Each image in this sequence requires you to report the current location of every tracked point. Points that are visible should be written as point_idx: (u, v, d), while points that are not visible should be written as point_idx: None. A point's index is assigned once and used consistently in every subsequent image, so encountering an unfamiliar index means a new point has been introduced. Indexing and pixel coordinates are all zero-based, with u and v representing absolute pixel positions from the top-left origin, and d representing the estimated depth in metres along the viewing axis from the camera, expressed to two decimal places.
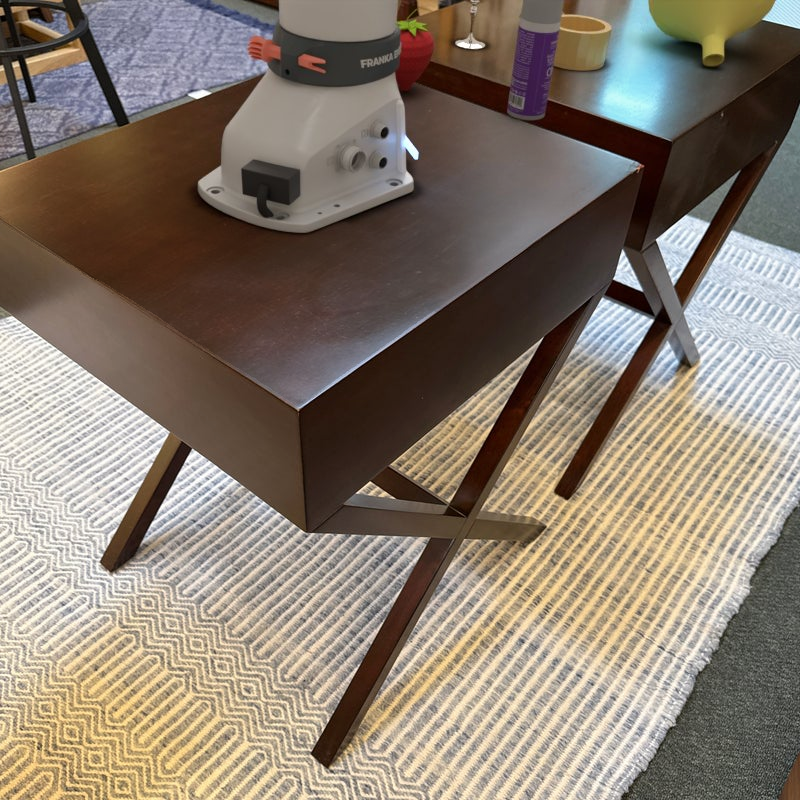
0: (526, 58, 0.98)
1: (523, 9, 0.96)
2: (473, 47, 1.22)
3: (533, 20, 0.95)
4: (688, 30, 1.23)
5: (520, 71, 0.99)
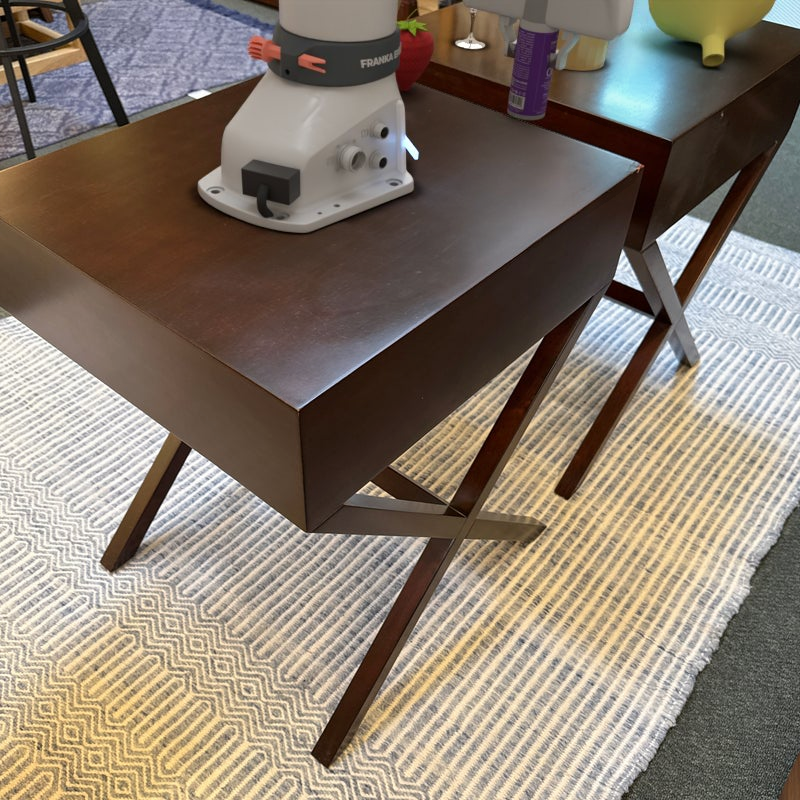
0: (526, 58, 0.98)
1: None
2: (473, 47, 1.22)
3: (533, 20, 0.95)
4: (688, 30, 1.23)
5: (520, 71, 0.99)
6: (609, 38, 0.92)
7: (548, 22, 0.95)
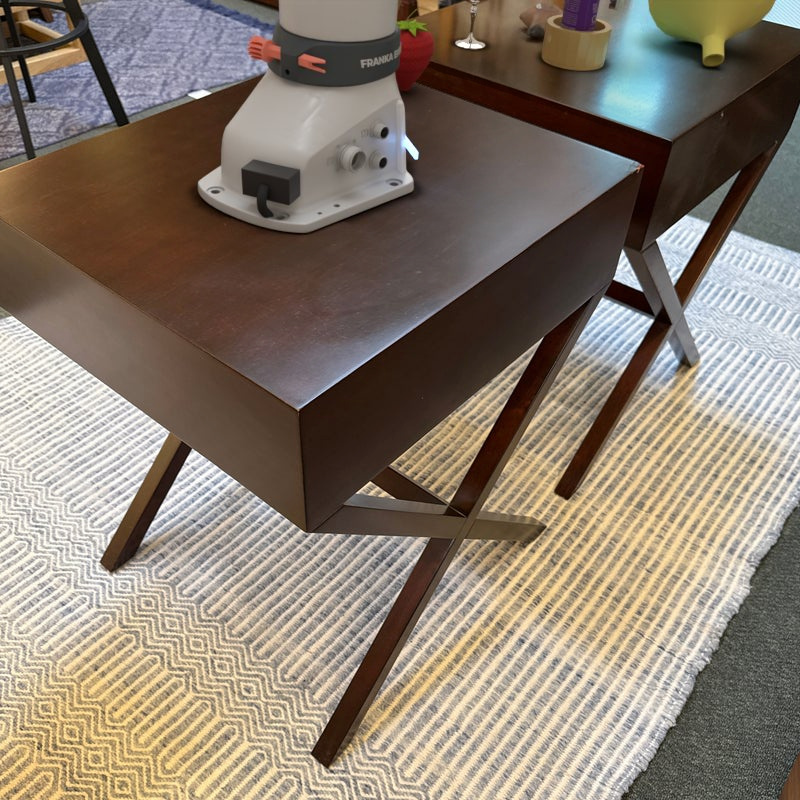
0: (575, 6, 1.15)
1: None
2: (473, 47, 1.22)
3: None
4: (688, 30, 1.23)
5: (569, 18, 1.16)
6: None
7: None
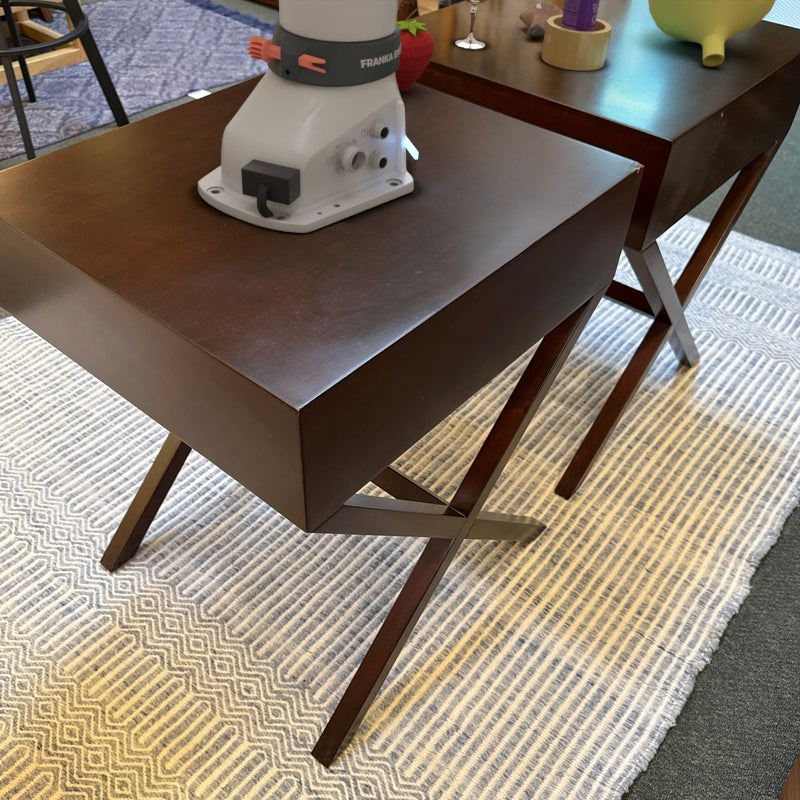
0: (575, 6, 1.15)
1: None
2: (473, 47, 1.22)
3: None
4: (688, 30, 1.23)
5: (569, 18, 1.16)
6: None
7: None
